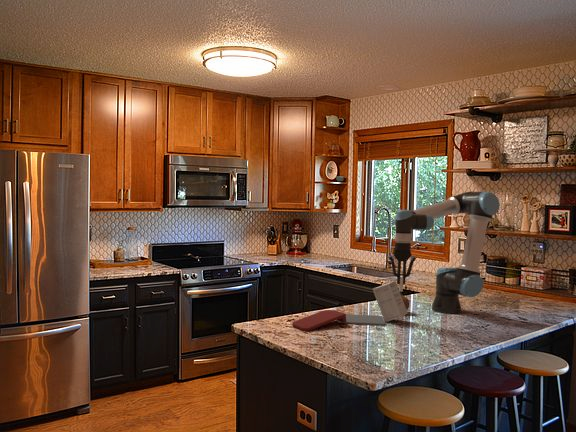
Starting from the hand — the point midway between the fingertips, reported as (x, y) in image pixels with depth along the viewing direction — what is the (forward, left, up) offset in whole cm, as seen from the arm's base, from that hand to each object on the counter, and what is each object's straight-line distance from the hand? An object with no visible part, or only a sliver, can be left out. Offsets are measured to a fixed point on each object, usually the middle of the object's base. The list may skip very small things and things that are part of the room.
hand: (400, 291), depth 250 cm
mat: (0, -17, -15) cm, 23 cm away
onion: (-20, +3, -15) cm, 25 cm away
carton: (+13, -38, -15) cm, 43 cm away
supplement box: (0, -1, -13) cm, 13 cm away
